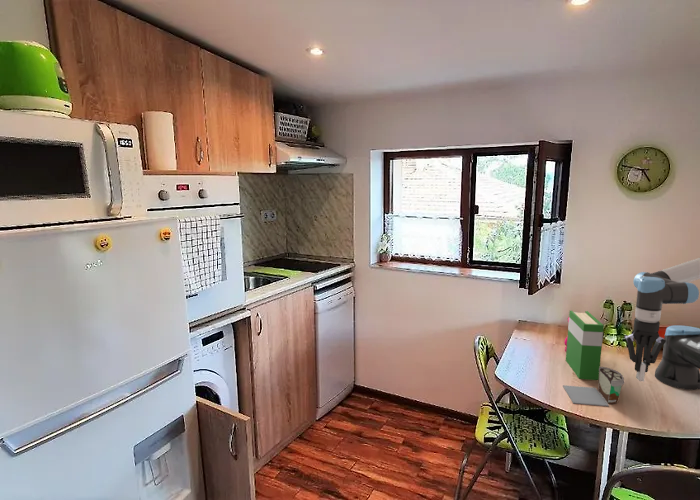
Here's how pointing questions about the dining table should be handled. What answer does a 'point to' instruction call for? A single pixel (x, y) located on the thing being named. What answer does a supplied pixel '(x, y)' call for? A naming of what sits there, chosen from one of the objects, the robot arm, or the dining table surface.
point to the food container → (610, 384)
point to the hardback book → (584, 345)
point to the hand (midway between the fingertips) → (639, 379)
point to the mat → (585, 395)
